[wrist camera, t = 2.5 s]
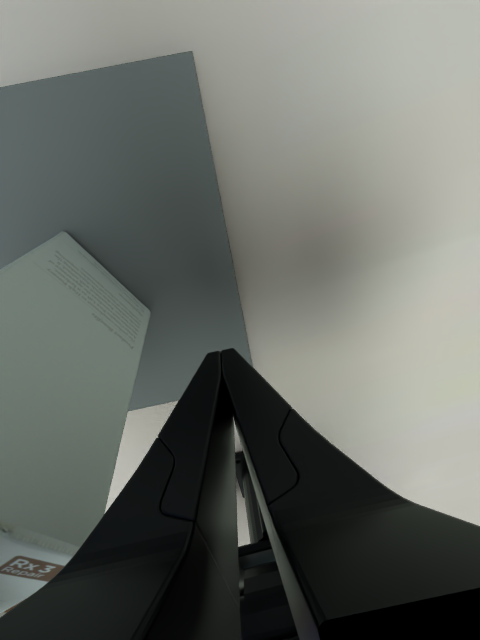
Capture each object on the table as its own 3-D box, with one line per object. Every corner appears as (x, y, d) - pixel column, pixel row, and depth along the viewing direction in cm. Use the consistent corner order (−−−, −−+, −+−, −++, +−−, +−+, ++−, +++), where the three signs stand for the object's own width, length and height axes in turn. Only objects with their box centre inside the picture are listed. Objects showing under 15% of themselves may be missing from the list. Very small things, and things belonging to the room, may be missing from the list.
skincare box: (10, 278, 15) (-449, 579, 4) (69, 223, 14) (-335, 438, 3) (106, 351, 18) (-28, 637, 7) (160, 310, 17) (96, 570, 6)
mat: (254, 379, 21) (255, 383, 20) (-75, 451, 20) (-80, 456, 20) (192, 53, 12) (192, 50, 11) (-417, 170, 11) (-436, 170, 11)
